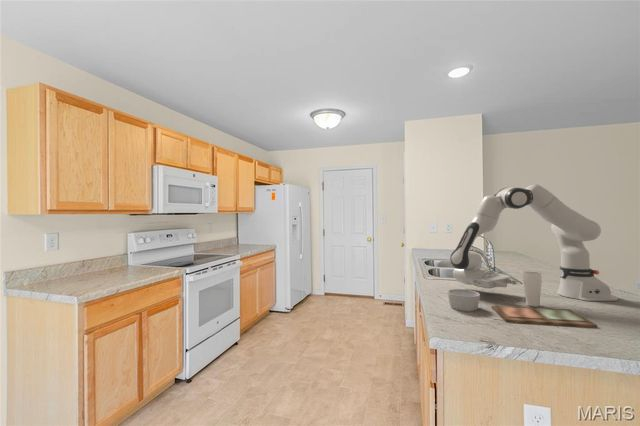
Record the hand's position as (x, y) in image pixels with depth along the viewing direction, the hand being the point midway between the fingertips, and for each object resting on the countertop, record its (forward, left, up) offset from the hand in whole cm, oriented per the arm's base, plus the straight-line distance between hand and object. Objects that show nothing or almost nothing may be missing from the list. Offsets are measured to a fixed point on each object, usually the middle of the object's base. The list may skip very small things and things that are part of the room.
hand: (511, 284), depth 145 cm
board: (-2, +23, -8) cm, 24 cm away
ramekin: (+25, +16, -8) cm, 30 cm away
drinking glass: (-6, +7, -8) cm, 12 cm away
